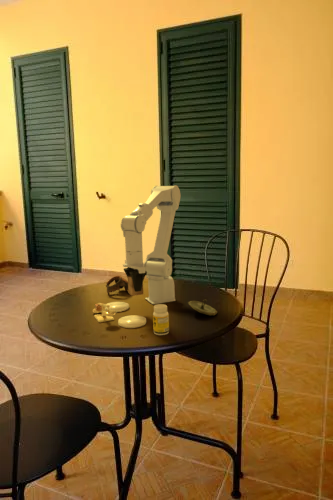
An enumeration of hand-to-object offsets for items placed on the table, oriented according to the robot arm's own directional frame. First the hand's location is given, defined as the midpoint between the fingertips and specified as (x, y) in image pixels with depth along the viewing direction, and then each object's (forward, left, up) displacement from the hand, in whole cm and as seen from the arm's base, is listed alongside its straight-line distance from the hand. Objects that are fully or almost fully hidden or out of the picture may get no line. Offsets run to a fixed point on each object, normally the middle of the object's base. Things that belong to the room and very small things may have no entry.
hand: (135, 289), depth 140 cm
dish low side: (+5, -8, -8) cm, 13 cm away
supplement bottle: (0, +21, -9) cm, 22 cm away
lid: (-20, +11, -9) cm, 25 cm away
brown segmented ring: (-3, -27, -9) cm, 29 cm away
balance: (+12, 0, -8) cm, 14 cm away
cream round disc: (+5, +9, -8) cm, 13 cm away
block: (0, 0, -1) cm, 1 cm away
